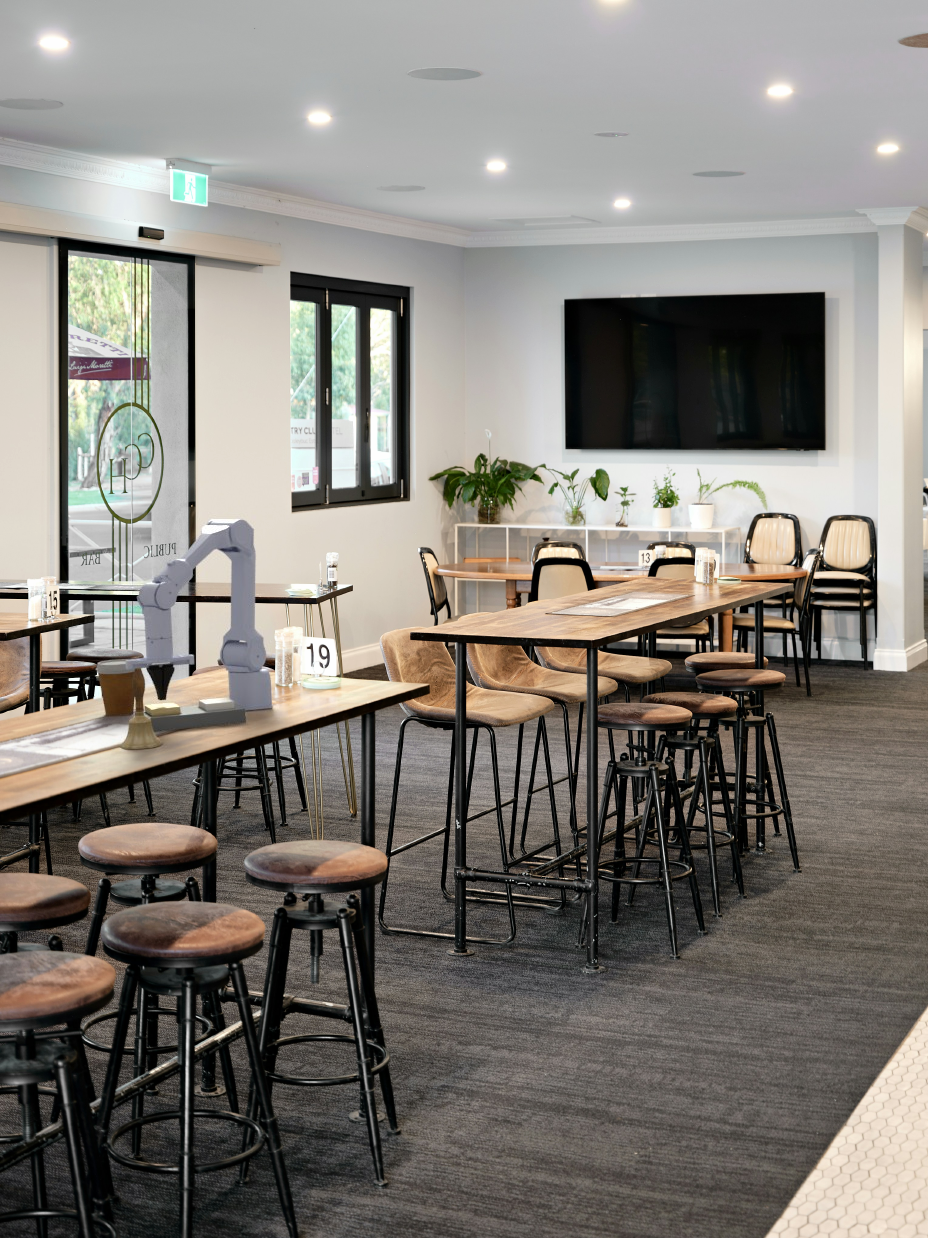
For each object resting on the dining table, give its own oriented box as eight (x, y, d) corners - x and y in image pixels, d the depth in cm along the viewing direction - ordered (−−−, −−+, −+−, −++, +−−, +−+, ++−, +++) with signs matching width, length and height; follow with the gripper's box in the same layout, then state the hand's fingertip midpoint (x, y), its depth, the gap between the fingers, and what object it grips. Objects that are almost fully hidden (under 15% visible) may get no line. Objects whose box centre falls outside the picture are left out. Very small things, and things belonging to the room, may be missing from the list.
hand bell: (123, 742, 304) (119, 666, 302) (164, 741, 305) (160, 664, 303) (117, 750, 296) (113, 672, 294) (159, 748, 297) (155, 670, 295)
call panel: (232, 714, 333) (231, 701, 333) (246, 722, 323) (245, 708, 323) (135, 724, 324) (134, 711, 324) (146, 732, 314) (145, 718, 314)
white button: (226, 710, 330) (226, 697, 330) (234, 714, 324) (234, 701, 324) (199, 713, 328) (198, 700, 327) (206, 717, 322) (205, 704, 322)
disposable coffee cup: (130, 717, 334) (127, 665, 332) (91, 717, 335) (88, 665, 334) (147, 710, 343) (144, 659, 341) (109, 709, 345) (106, 659, 343)
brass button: (173, 716, 325) (173, 702, 325) (180, 720, 320) (180, 706, 319) (145, 718, 323) (144, 705, 322) (152, 723, 317) (151, 709, 317)
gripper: (129, 642, 312) (132, 705, 314) (196, 636, 318) (199, 698, 320) (122, 638, 319) (125, 700, 320) (188, 633, 325) (191, 694, 326)
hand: (162, 699), depth 321 cm, fingers closed
